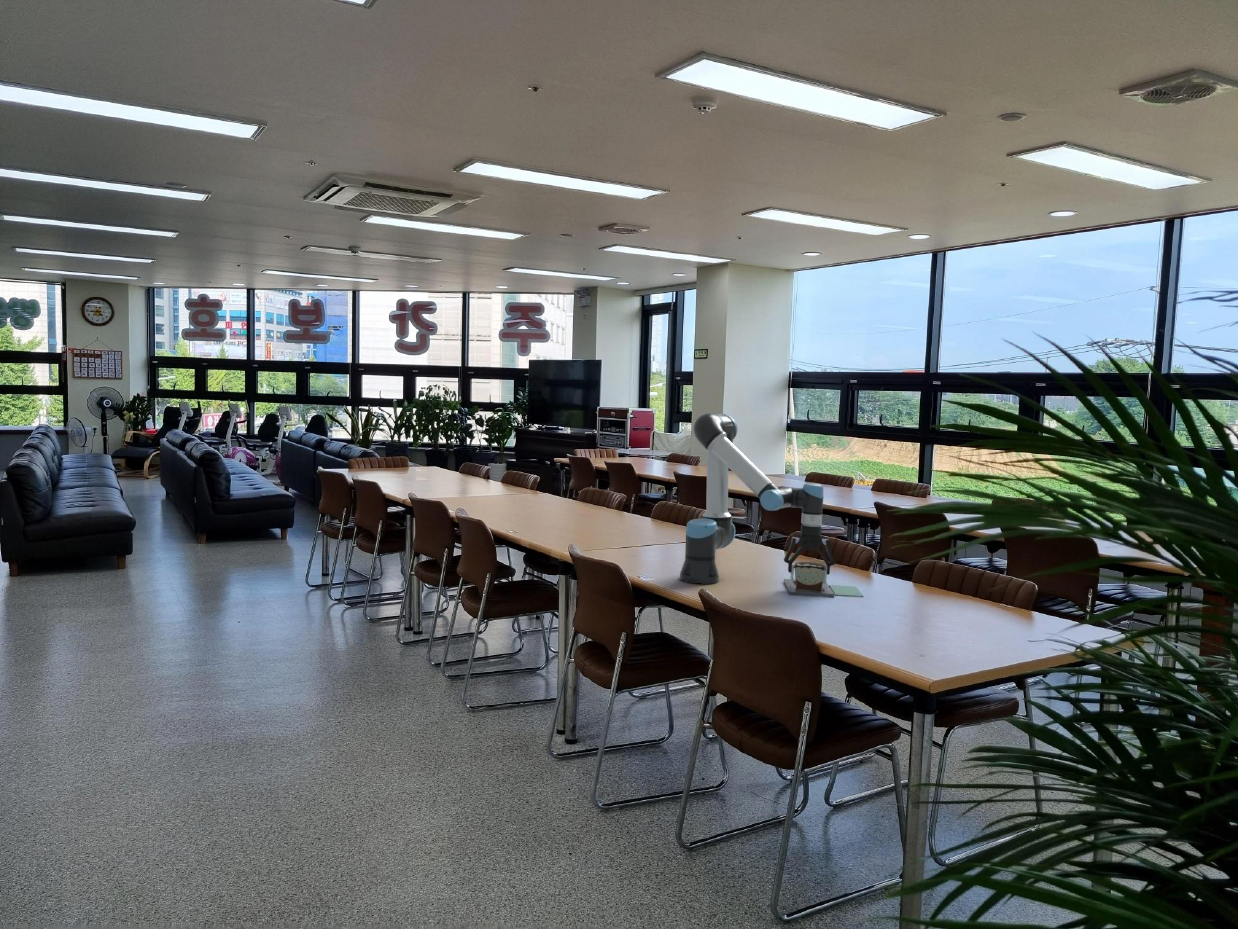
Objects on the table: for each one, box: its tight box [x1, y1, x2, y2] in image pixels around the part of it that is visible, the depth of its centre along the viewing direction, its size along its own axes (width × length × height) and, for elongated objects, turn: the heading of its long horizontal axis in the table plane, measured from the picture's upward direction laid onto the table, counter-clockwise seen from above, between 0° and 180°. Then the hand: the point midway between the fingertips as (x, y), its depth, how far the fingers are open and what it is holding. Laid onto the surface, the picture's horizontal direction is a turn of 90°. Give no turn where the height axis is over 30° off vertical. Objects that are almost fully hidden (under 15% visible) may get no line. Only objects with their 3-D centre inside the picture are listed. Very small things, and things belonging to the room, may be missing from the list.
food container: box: [793, 561, 827, 591], centre depth 320 cm, size 12×6×10 cm, turn 76°
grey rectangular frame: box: [783, 578, 835, 598], centre depth 320 cm, size 16×22×1 cm
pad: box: [828, 584, 864, 597], centre depth 319 cm, size 10×16×1 cm, turn 175°
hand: (808, 582), depth 320 cm, fingers closed on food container, 11 cm apart
